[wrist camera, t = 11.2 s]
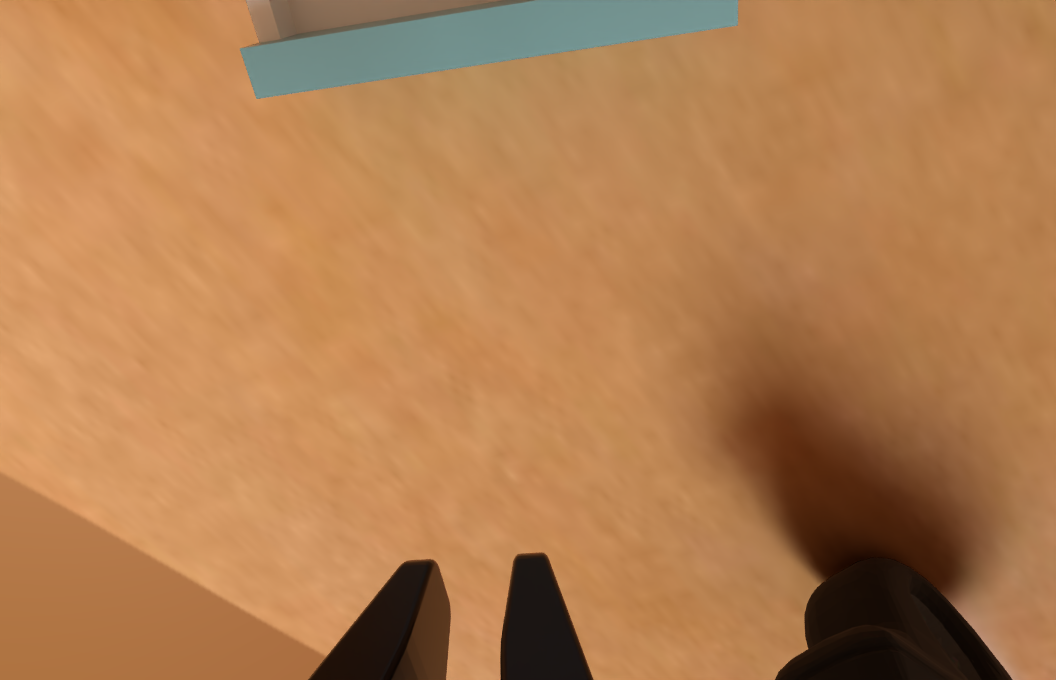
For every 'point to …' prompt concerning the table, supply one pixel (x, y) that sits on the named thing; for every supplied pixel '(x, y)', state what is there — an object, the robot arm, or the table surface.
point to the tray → (445, 35)
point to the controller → (888, 630)
